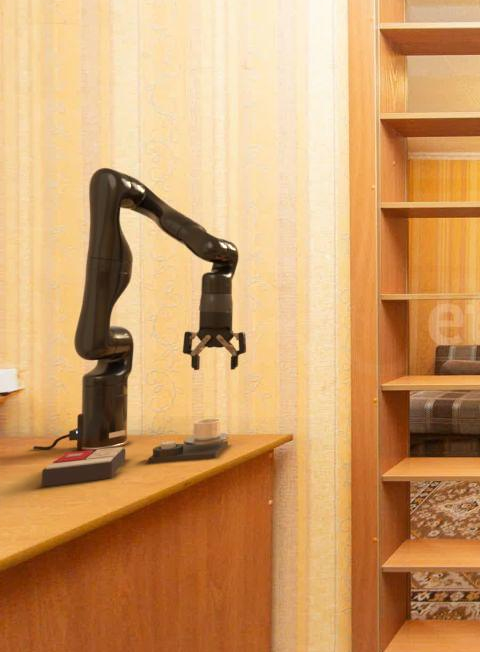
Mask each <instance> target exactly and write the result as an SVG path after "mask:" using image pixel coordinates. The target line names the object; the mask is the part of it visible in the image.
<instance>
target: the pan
mask: <svg viewBox="0 0 480 652" xmlns="http://www.w3.org/2000/svg"><path fill="white" fill-rule="evenodd" d="M228 439H230V435H229V434H228V433H222V432H221V435H220V436H218V437H217V438H214V439H209V440H197V439H196V438H194V435H192V436H189V437H186V438H184V439H183V444H188V445H205V444H212V443H218V442H221V441H228Z"/></svg>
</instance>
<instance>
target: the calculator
mask: <svg viewBox="0 0 480 652" xmlns="http://www.w3.org/2000/svg"><path fill="white" fill-rule="evenodd" d="M125 461H126V448H123V446H120V447H117V448H108V449H98V450H96V451H94V450H88V451H84V450H78V451H69V452H66V453H64V454H62V456H59V457H58V458H57V459H55V460H54V461H52V463H50V464H49V465H48V466H46V467H45V468H43V469H42V470H41V487H42V488H45V487H46V488H47V487H53V486H61V485H70V484H78V483H84V482H92V481H93V482H94V481H99V480H106V479H112V478H113V477H114V476H115V475H116V472H117V470H118V469H119V468H120V466H121V465H122V464H124V462H125Z"/></svg>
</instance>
